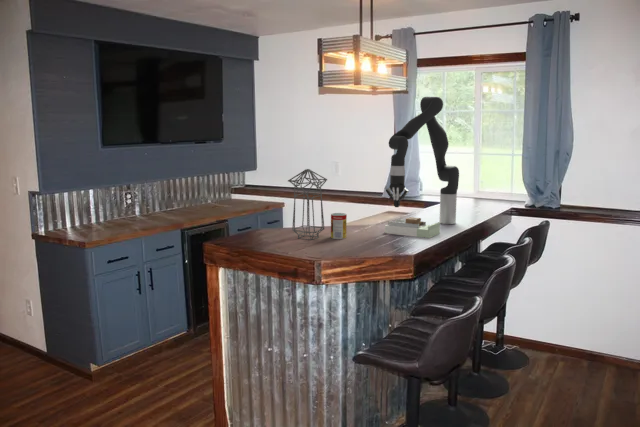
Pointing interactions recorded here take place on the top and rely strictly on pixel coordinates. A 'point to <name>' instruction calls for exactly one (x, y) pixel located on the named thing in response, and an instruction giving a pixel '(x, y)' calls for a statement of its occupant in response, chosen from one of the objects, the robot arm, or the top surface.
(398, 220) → the channel rails
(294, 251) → the top surface
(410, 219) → the walnut block
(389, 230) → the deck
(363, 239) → the top surface
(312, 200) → the geometric lantern
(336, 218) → the canned food
